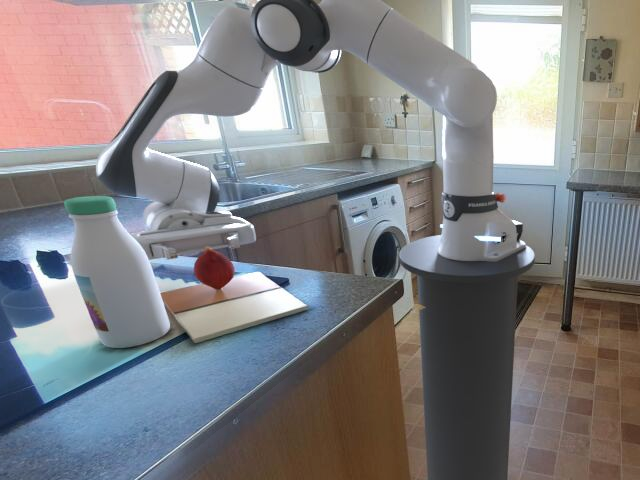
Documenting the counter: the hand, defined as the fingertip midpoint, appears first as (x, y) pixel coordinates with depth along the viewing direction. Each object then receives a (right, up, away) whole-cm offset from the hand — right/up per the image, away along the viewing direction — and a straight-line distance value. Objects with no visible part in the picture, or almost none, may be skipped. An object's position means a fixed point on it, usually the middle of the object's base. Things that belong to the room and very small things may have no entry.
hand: (204, 249), depth 73 cm
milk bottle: (0, -14, -13) cm, 19 cm away
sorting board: (+7, -10, -2) cm, 12 cm away
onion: (+2, -7, +1) cm, 8 cm away
